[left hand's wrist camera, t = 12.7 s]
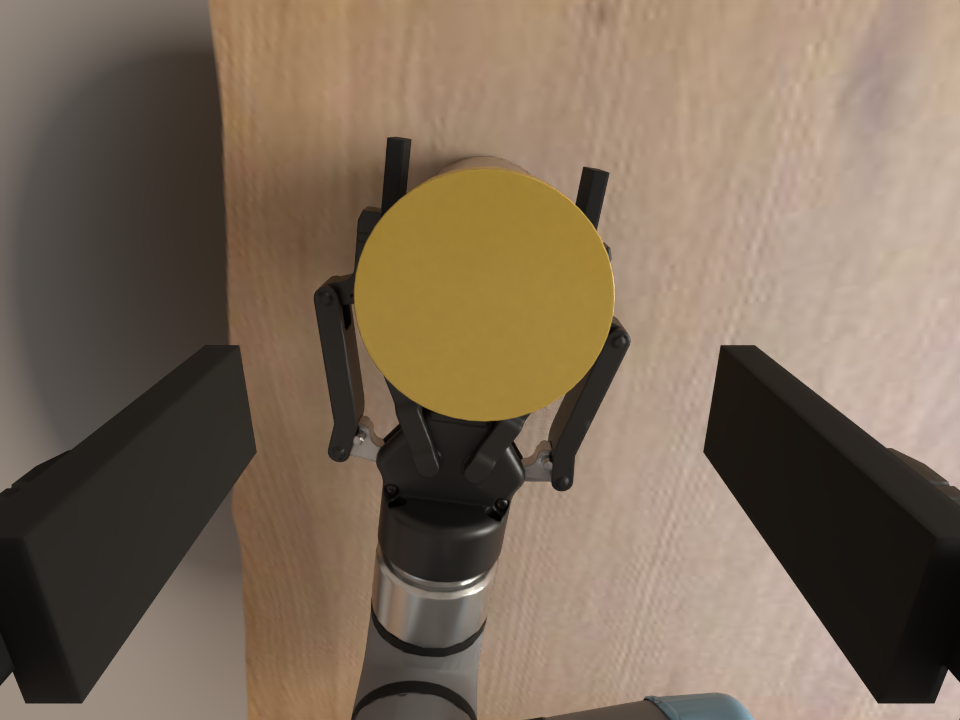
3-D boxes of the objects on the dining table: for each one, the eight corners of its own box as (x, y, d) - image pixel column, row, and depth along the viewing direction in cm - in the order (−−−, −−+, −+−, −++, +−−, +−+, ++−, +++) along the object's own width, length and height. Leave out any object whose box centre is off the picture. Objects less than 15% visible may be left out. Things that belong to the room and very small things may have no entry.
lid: (597, 401, 23) (605, 420, 22) (372, 403, 23) (365, 422, 22) (613, 164, 20) (625, 166, 18) (351, 167, 20) (340, 170, 18)
